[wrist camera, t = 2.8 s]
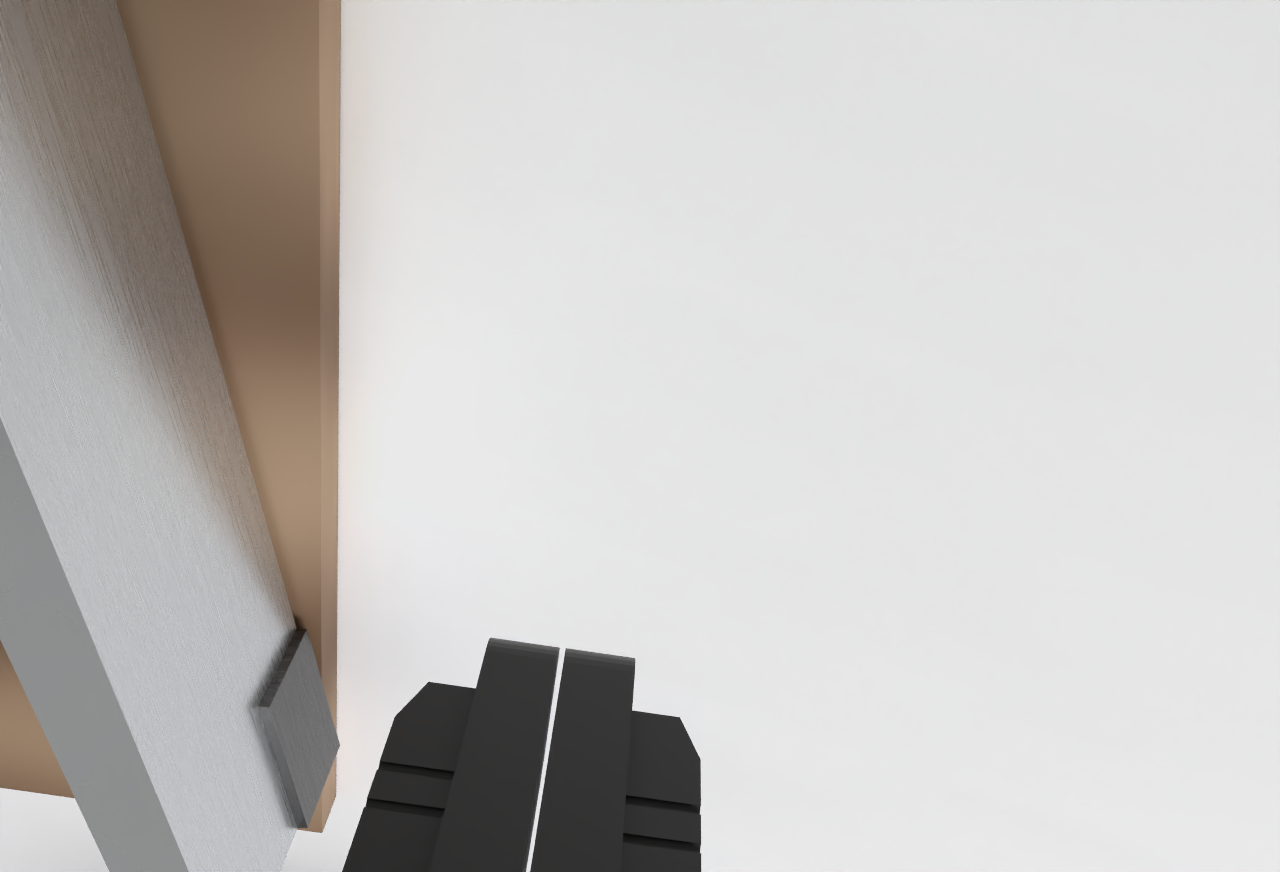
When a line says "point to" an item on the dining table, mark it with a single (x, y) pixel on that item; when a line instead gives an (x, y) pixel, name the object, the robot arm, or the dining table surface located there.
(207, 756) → the tongs swing arm
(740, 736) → the dining table surface
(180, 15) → the walnut board
